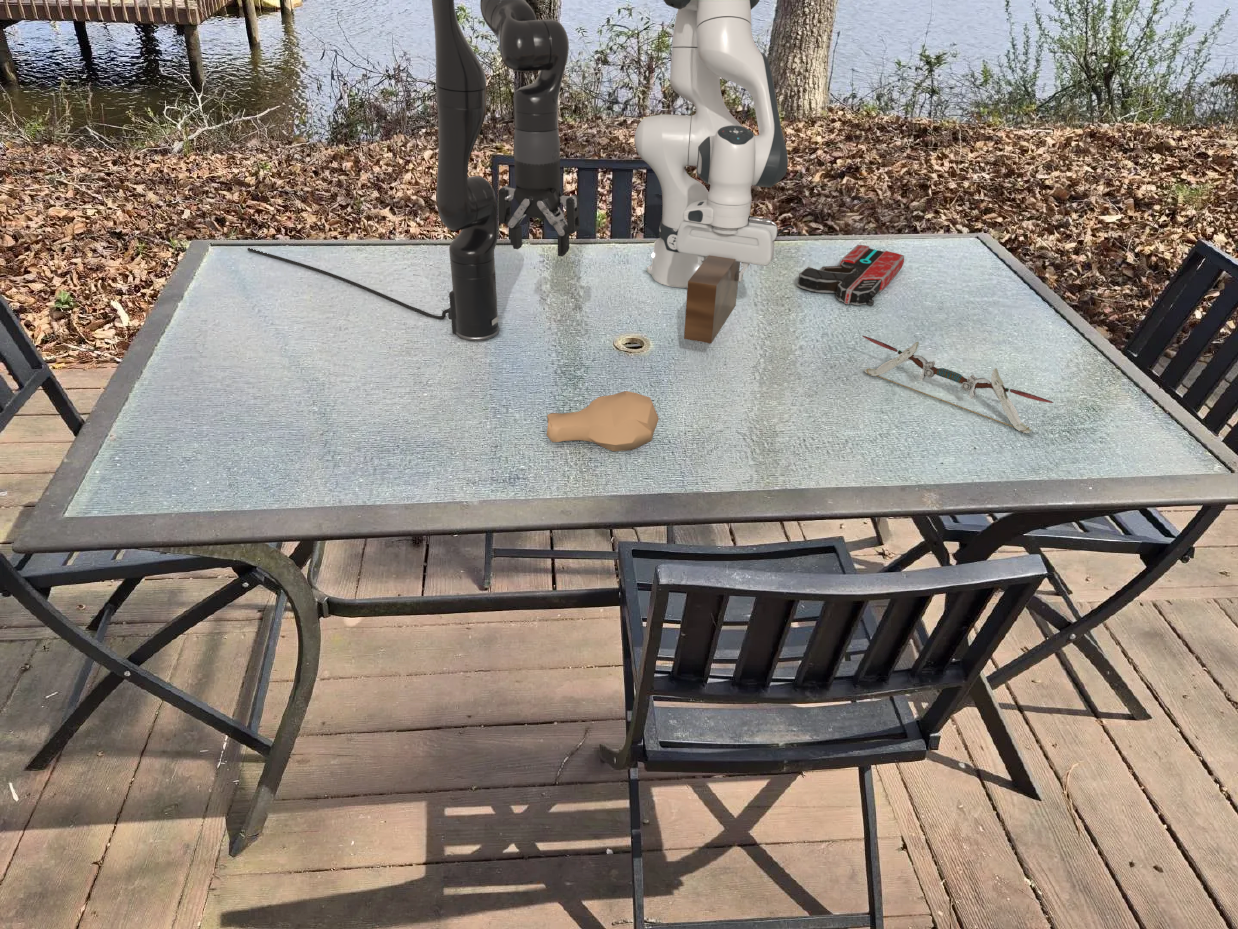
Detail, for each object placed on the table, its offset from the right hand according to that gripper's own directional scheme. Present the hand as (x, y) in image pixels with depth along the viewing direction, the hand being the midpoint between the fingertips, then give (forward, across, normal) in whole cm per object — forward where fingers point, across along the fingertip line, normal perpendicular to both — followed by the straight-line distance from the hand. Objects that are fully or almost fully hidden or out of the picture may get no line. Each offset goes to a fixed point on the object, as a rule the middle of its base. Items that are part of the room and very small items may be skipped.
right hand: (721, 278), depth 184 cm
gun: (+15, -23, -47) cm, 55 cm away
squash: (+14, +8, +48) cm, 51 cm away
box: (+7, 0, +7) cm, 10 cm away
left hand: (-15, +24, +38) cm, 48 cm away
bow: (+14, -48, +9) cm, 51 cm away
